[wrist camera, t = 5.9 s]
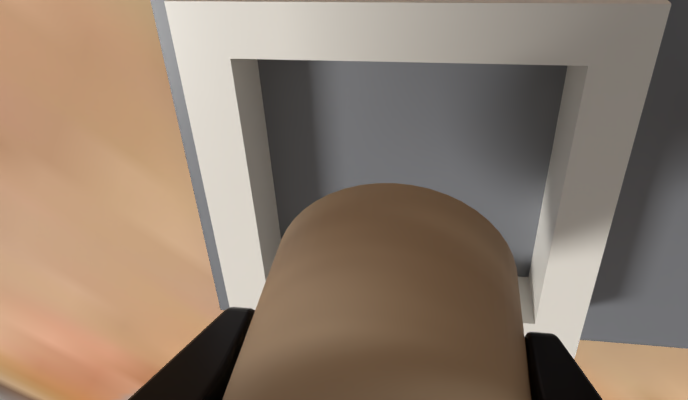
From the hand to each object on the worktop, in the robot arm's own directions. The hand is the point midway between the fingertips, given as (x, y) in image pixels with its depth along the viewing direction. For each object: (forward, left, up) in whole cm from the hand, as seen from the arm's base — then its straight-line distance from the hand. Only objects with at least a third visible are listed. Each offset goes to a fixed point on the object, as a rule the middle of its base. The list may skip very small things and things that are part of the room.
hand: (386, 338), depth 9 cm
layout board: (-3, 0, -6) cm, 6 cm away
